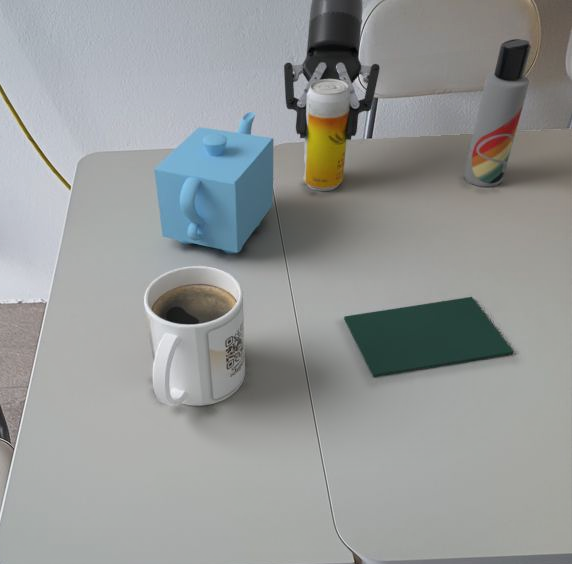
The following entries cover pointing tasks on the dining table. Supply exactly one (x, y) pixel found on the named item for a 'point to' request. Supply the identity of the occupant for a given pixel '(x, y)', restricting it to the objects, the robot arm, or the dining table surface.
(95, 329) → the dining table surface
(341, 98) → the beer can
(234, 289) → the mug
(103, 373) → the dining table surface
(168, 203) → the teapot
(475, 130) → the lotion bottle
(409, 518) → the dining table surface
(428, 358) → the cloth
